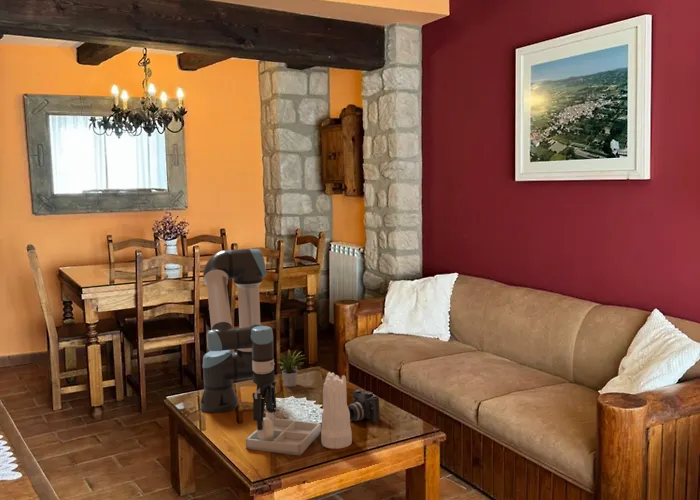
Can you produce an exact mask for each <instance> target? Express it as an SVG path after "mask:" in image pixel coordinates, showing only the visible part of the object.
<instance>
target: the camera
mask: <svg viewBox="0 0 700 500" xmlns="http://www.w3.org/2000/svg"><path fill="white" fill-rule="evenodd" d="M352 401H353V403H350V404H349V405H347V406H348V409H349V412H350V421H352V422H353V421H354V422H357V421H361V420H363V419H367V420H369V421H370V422H373V423H376V422H379V421H380V420H381V419H380V417H381V416H380V415H381V414H380V411H381V410H380V398H379V397H378V395H374V393H373V392H370V391H365V390H364V389H363V388H361V389H359V388H358V389H355V390H354V391H353V392H352Z"/></svg>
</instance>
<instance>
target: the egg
mask: <svg viewBox="0 0 700 500" xmlns="http://www.w3.org/2000/svg"><path fill="white" fill-rule="evenodd" d="M263 420H265V436H266V438H265V439H264V438H258V440H265V441H273V440H274V430H273V422H272V420H271V419H270V418H267V417H266V416H264V419H263Z"/></svg>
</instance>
